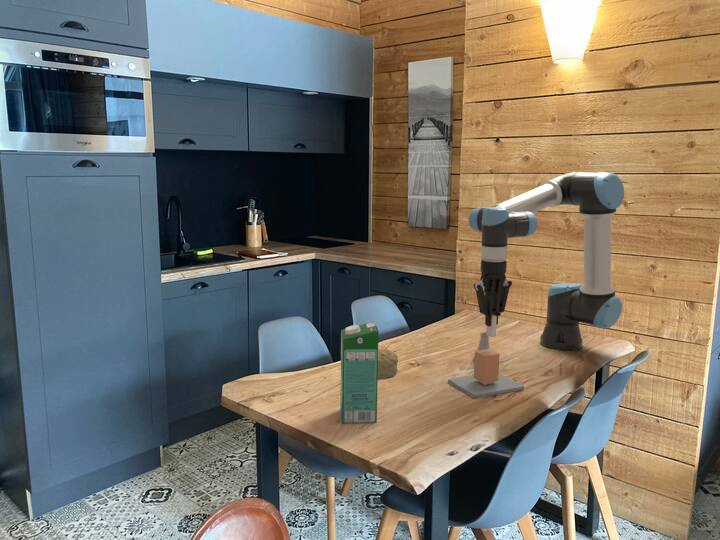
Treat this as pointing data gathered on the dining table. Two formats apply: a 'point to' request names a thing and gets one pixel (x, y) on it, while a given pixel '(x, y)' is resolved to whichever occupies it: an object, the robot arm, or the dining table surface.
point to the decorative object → (387, 363)
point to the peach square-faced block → (486, 366)
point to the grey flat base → (485, 386)
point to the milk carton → (359, 373)
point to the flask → (483, 343)
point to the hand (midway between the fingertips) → (491, 335)
